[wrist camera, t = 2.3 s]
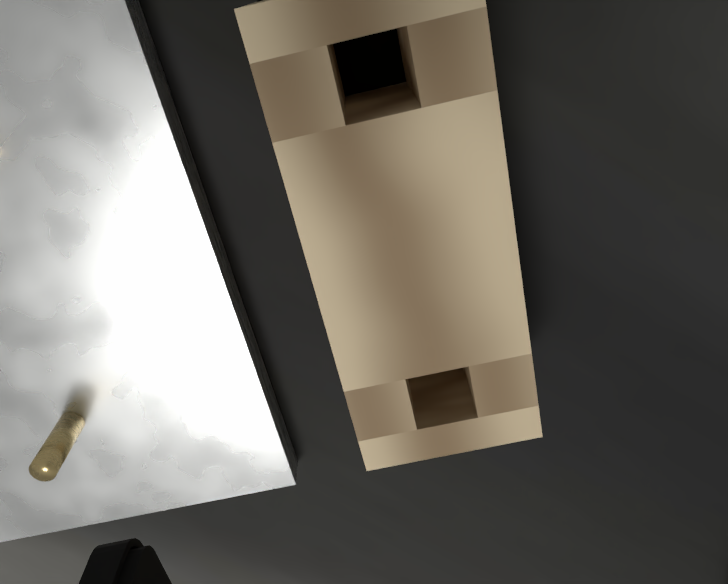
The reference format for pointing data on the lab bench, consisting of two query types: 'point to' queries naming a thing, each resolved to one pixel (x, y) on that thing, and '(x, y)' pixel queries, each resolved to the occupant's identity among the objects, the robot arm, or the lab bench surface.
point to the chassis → (114, 289)
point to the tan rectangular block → (403, 220)
